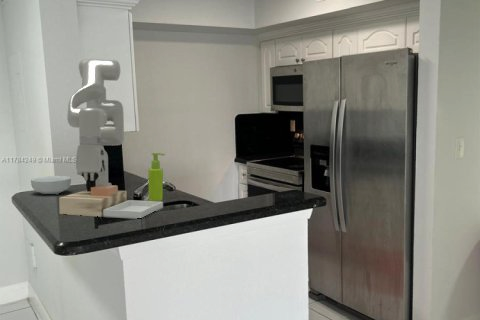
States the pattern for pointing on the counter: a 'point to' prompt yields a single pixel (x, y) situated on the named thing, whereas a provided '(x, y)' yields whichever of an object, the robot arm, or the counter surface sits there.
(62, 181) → the cereal bowl
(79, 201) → the birch board
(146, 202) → the box
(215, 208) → the counter surface
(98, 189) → the terracotta tile
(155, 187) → the soap dispenser
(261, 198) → the counter surface
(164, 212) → the counter surface
